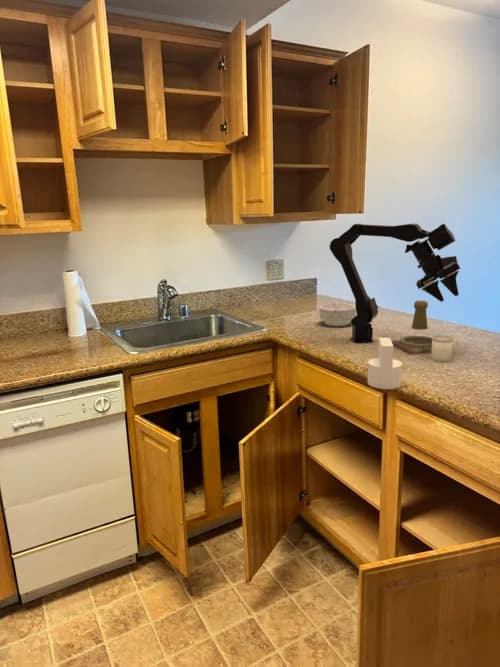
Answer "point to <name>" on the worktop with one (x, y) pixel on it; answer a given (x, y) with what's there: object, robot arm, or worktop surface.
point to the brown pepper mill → (420, 315)
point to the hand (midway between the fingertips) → (449, 298)
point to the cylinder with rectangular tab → (384, 367)
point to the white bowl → (337, 313)
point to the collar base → (412, 351)
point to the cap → (441, 348)
